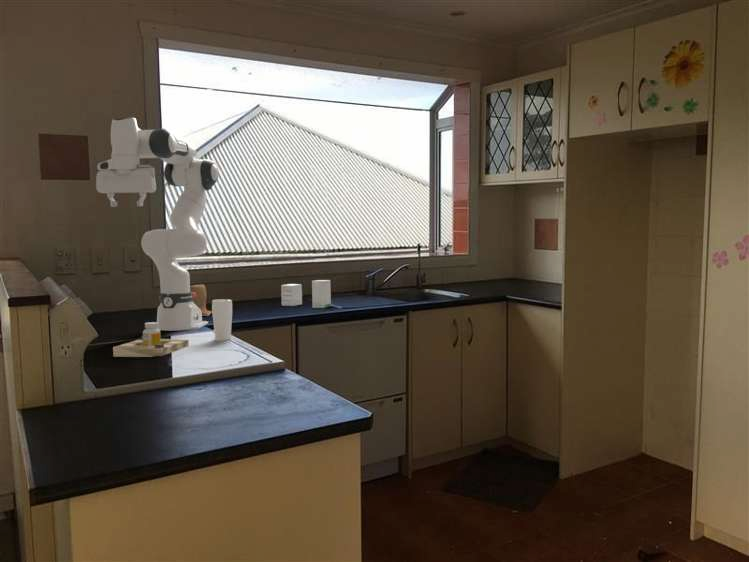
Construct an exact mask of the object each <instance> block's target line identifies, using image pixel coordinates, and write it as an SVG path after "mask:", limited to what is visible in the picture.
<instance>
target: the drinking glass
mask: <svg viewBox="0 0 749 562" xmlns="http://www.w3.org/2000/svg"><path fill="white" fill-rule="evenodd" d="M211 311H212V314H211V315H212V321H213V331H214V340H215V341H219V342H220V341H221V342H222V341H229V340H231V339H232V320H233V300H232V299H229V298H227V299H223V298H221V299H213V300H211Z"/></svg>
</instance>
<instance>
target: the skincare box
mask: <svg viewBox="0 0 749 562" xmlns="http://www.w3.org/2000/svg"><path fill="white" fill-rule="evenodd" d="M331 289H332V287H331V280H330V279H316V280H311V293H312V295H311V297H312V298H311V299H312V301H311V302H312V303H311V304H312V306H311V307H312V309H325V308H328V307H331V306H332V299H331V297H332V294H331Z"/></svg>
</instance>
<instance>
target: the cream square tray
mask: <svg viewBox="0 0 749 562" xmlns="http://www.w3.org/2000/svg"><path fill="white" fill-rule="evenodd" d="M188 346H189V339H178V338H174V339H172V338H161V344H155V346H143V335H142V336H140V338H139V339H136V340H134V341H133V340H132V341H130V342H126V343H125V342H124V343H123V344H120V345H116V346H113V347H112V352H113V355H112V357H114V358H118V357H119V358H120V357H121V358H146V357H147V358H153V357H163V356H166V355H169V354H170V353H171V354H172V353H173V352H176V351H178V350H182V349H184V348H186V347H188Z"/></svg>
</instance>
